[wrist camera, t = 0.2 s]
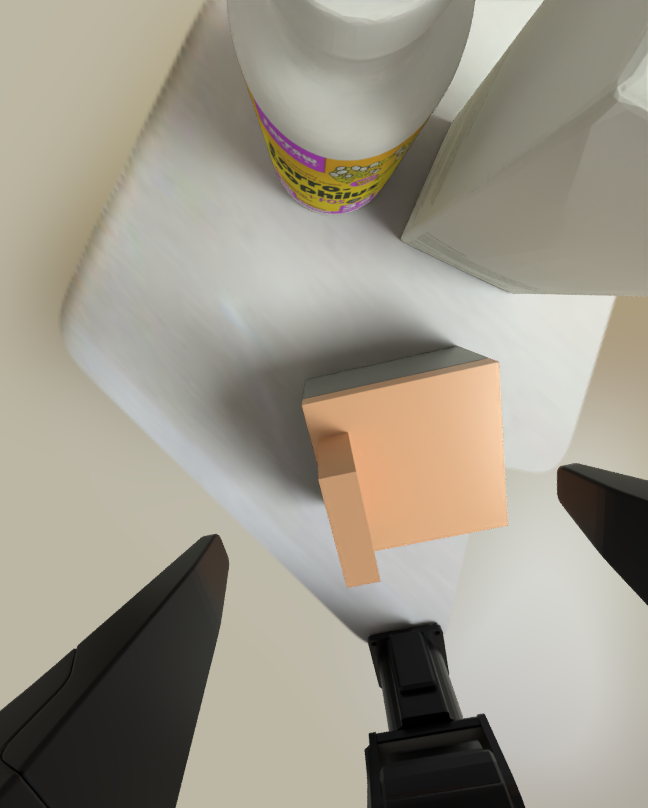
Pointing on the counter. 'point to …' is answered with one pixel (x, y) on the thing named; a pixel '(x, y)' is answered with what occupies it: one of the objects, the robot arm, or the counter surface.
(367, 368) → the tub
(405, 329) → the counter surface
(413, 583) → the counter surface
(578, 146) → the skincare box
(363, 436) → the lid
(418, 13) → the supplement bottle
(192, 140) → the counter surface
